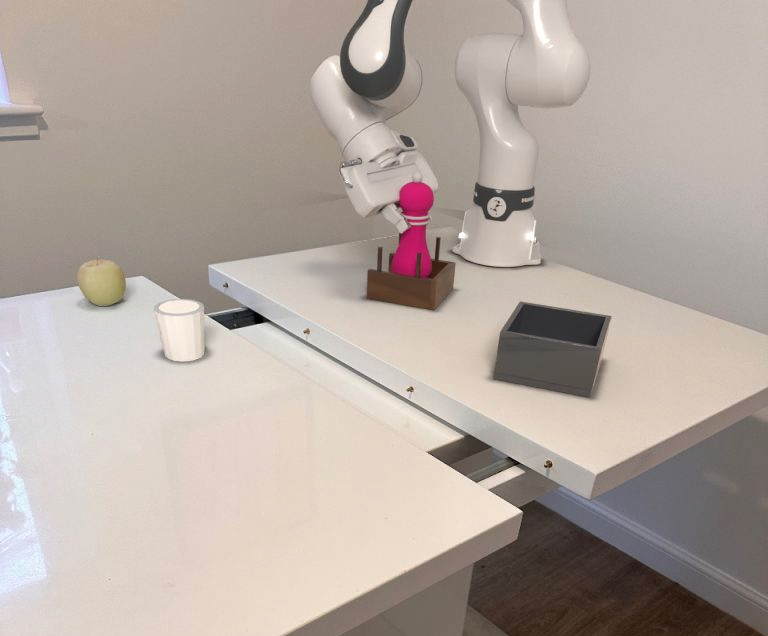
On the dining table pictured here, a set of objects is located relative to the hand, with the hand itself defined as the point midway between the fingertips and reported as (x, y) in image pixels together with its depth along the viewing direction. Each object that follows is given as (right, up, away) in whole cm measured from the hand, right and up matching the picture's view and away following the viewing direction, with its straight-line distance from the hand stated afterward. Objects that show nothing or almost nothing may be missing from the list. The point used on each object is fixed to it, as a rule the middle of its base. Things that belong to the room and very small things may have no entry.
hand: (417, 227), depth 122 cm
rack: (-1, -9, +7) cm, 12 cm away
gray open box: (+19, -28, -17) cm, 38 cm away
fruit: (-52, -14, -3) cm, 54 cm away
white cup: (-35, -26, -18) cm, 47 cm away
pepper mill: (-1, -9, +7) cm, 12 cm away
